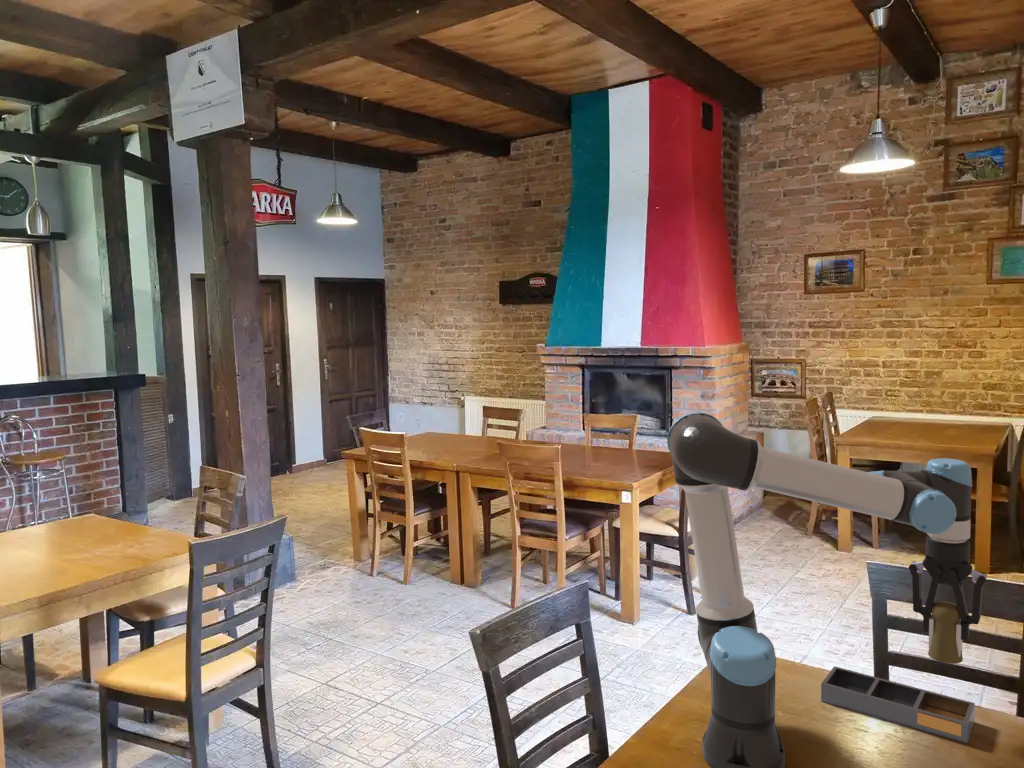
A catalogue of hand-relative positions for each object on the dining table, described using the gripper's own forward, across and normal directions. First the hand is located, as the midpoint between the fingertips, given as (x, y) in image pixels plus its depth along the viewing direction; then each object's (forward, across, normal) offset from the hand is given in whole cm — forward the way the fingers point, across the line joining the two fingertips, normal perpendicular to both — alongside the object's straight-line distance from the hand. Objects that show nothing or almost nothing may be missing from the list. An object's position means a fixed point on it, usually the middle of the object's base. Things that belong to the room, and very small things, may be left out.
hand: (945, 650), depth 148 cm
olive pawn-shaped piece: (+1, 0, 0) cm, 1 cm away
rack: (+16, +9, 0) cm, 18 cm away
